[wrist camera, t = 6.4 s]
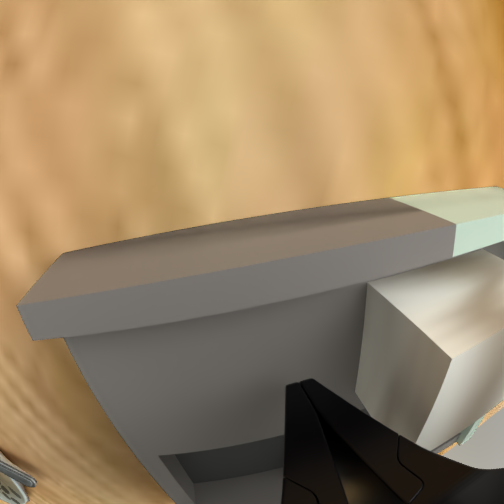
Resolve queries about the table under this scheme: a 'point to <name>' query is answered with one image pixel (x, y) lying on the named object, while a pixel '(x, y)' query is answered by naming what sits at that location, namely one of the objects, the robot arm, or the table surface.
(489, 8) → the table surface
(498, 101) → the table surface
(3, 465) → the salad plate
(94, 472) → the table surface
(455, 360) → the cream block
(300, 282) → the box
